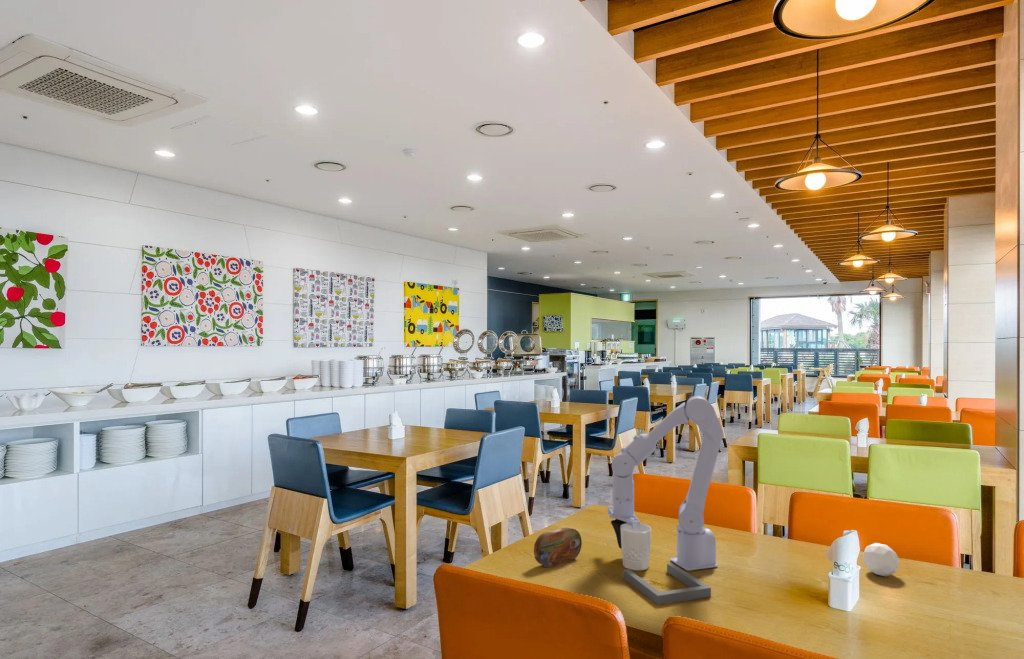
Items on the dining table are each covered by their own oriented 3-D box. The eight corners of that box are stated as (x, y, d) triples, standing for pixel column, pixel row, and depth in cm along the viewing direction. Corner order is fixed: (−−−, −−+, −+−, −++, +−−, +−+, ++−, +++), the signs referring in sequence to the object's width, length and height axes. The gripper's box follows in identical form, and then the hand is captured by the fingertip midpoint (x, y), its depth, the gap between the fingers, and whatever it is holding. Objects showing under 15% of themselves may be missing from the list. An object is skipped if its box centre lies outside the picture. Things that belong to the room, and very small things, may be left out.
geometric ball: (874, 586, 144) (852, 558, 146) (881, 566, 150) (860, 540, 151) (903, 580, 139) (880, 551, 140) (909, 560, 144) (887, 533, 146)
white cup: (651, 572, 145) (651, 533, 145) (620, 570, 147) (620, 530, 147) (650, 561, 153) (650, 523, 153) (620, 559, 154) (620, 521, 155)
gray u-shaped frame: (672, 571, 146) (672, 563, 146) (710, 596, 132) (710, 587, 132) (623, 577, 142) (623, 569, 142) (657, 604, 127) (657, 595, 127)
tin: (539, 570, 146) (539, 537, 147) (531, 566, 149) (531, 534, 149) (582, 557, 155) (582, 526, 156) (574, 554, 158) (574, 523, 158)
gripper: (598, 492, 162) (598, 540, 162) (623, 505, 148) (623, 558, 148) (620, 490, 164) (620, 538, 164) (647, 503, 151) (647, 556, 150)
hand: (623, 547), depth 156 cm, fingers closed
